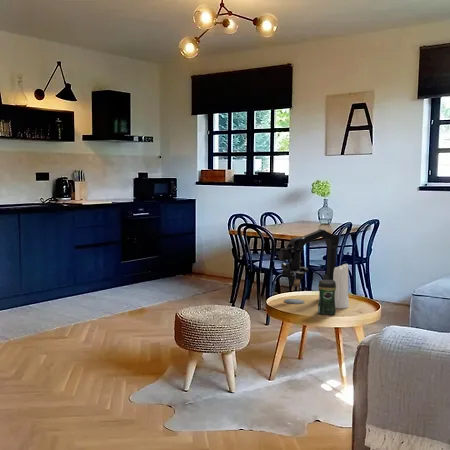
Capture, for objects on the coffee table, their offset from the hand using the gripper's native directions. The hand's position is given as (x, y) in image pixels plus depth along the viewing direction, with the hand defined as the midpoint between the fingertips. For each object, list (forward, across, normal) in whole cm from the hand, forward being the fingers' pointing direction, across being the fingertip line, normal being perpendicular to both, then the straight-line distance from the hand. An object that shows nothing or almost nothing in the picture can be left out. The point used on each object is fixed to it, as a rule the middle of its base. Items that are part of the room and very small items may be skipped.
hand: (294, 285), depth 330 cm
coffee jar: (+10, +9, +29) cm, 32 cm away
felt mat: (+10, 0, 0) cm, 10 cm away
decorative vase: (+10, -11, +24) cm, 28 cm away
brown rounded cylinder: (+3, 0, 0) cm, 3 cm away
